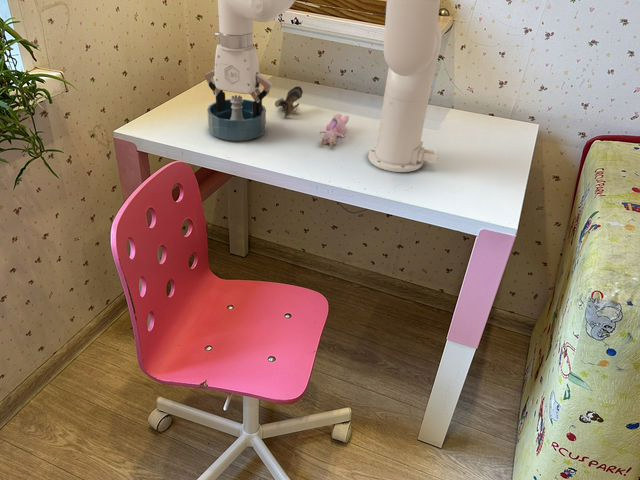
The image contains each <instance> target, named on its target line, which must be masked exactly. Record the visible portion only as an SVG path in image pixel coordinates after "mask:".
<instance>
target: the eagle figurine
mask: <svg viewBox="0 0 640 480" xmlns="http://www.w3.org/2000/svg"><path fill="white" fill-rule="evenodd" d="M303 92H304V91H303V89H302V87H301V86H294V87H293V88H291V89H290V90H289V91H288V92H287V94H286V97H285V99H284V98H283V97H280V98H278V99H277V100H275V102H274V107H276V108H279V107H282V108H283V109H281V112H284V119H287V117H288V116H289V115H290V113H291V112H293V113H295V114H296V115H298V112H297V109H296V108H297V107H299V105H300V103H299V102H298V103H297V104H295V105H294V103H295V102H297V101H298V100H299V99H300V100H301V98H302V97H303V94H304V93H303Z"/></svg>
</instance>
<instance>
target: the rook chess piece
mask: <svg viewBox="0 0 640 480" xmlns="http://www.w3.org/2000/svg"><path fill="white" fill-rule="evenodd" d="M230 97H231V98H230V99H231V100H230V102H231V103H232V106H231V108H232V115H231V118H230V120H244V118H243V115H242V103H243V96H241V95H236V94H235V95H232V96H230Z"/></svg>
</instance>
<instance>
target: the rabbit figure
mask: <svg viewBox="0 0 640 480" xmlns="http://www.w3.org/2000/svg"><path fill="white" fill-rule="evenodd" d="M349 120H350V116H349V115H347V114H345V115H343V116H342V114H341V113H335V114H334V115H333V116H332V117H331V120H330V121H329V123H328V124H326V126H325V130H321V131H319V134H320V135H322V134H323V135H322V138H321V141H320V143H319V146H320V147H323V146H324V145H327V144H329V146H328V148H329V147H330V148H331V149H332V148H333V146H335V145H336V143H337V140H338V136H339V137H341V138H345V135H344V134H345V133H346V132H347V128H346V125H347V124H348V123H349Z"/></svg>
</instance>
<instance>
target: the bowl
mask: <svg viewBox="0 0 640 480" xmlns="http://www.w3.org/2000/svg"><path fill="white" fill-rule="evenodd" d="M242 99H243V98H242ZM230 100H231V98H229V99H228V98H227V99H225V102H226V108H225V109H224V110H222V111H221V112H218V111H217V106H216V101H215V102H213V103H211V104H209V105H208V107H207V109H206V113H207V129H208V132H209V133H210V134H211V135H212V136H214V137H216V138H218V139H221V140H225V141H231V142H245V141H251V140H253V139H256V138H258V137H262V136H263V135H264V134H265V132H266V130H267V108H266V107H265V106H264V105H263V104H262V113H261V114H260V115H259V116H257V117H255V118H253V102H254V101H255V100H249V99H245V98H244V99H243V103H242V115H243V118H244V120H230V118H231V115H232V108H231V106H232V103H231V102H230Z"/></svg>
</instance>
